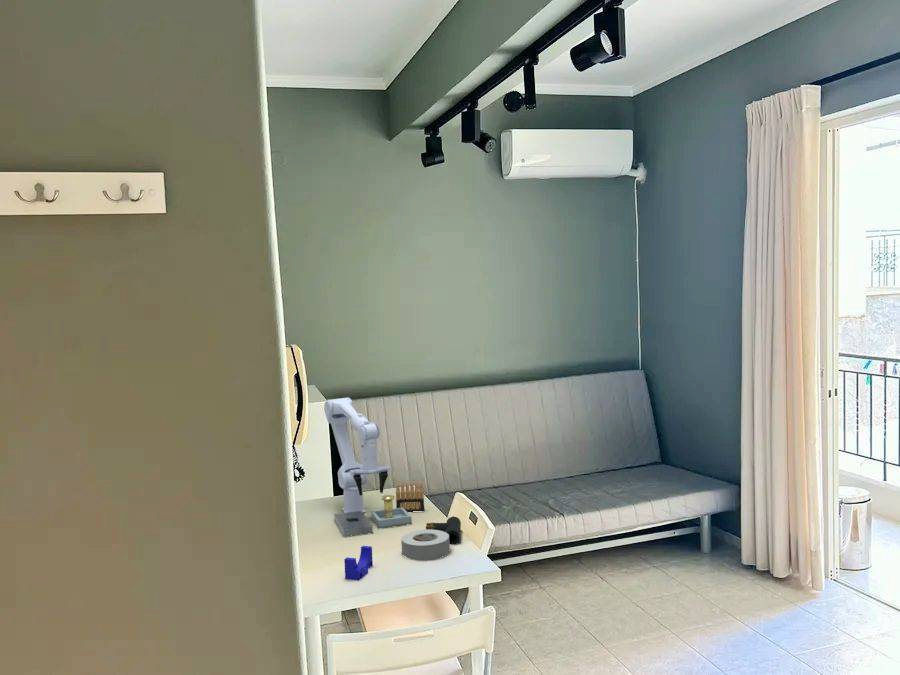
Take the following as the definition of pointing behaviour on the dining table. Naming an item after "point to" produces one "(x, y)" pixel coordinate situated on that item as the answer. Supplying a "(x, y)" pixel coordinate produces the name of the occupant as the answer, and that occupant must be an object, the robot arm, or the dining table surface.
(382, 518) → the tray
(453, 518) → the black power drill
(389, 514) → the gold flared cylinder
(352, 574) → the cable clip
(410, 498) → the ammunition clip
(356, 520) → the metal plate with hole
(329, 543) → the dining table surface
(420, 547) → the tape roll
